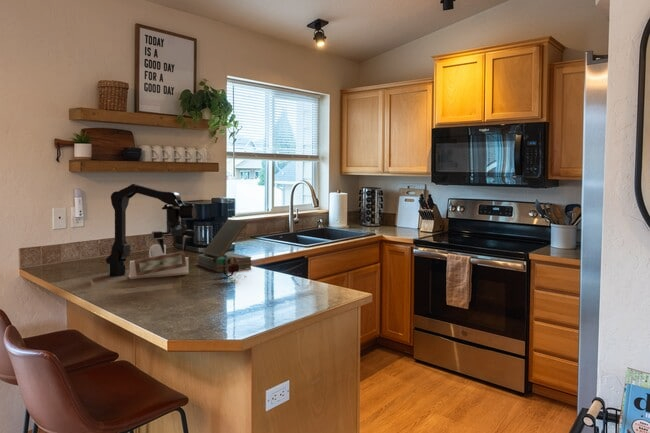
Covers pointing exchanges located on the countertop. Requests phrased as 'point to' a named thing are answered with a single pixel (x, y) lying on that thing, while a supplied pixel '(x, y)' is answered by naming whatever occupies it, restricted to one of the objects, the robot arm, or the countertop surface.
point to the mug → (157, 250)
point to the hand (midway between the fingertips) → (173, 252)
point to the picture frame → (160, 263)
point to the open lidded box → (224, 247)
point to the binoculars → (226, 261)
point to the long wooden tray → (169, 272)
